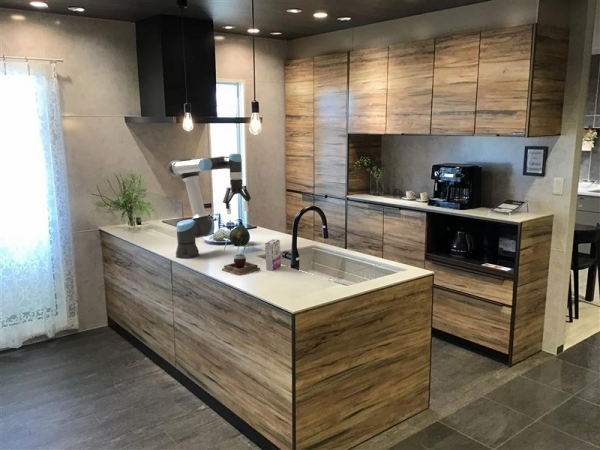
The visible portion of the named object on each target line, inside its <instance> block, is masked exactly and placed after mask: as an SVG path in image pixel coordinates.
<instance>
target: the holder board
mask: <svg viewBox="0 0 600 450" xmlns="http://www.w3.org/2000/svg"><path fill="white" fill-rule="evenodd" d="M260 270H261V268H260V267H258V264H255V263H252V262H248V261H246V263H245V265H244V268H240V269H238V268H236V265H235V263H234V262H232V263H230V264H229V263H228V264H224V265H223V268H221V271H223V272H226V273H230V274H233V275H236V276H242V275H246V274H249V273H253V272H257V271H260Z"/></svg>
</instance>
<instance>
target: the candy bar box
mask: <svg viewBox="0 0 600 450" xmlns="http://www.w3.org/2000/svg"><path fill="white" fill-rule="evenodd" d="M280 241H281V240H280V239H277V238H276V239H275V238H273V239H270V240H269V241H267V242H265V243H264V246H265V247H264V248H265V268H266V269H265V270H266V271H275V270H276V269H278V268H279V267H281V266H282V264H281V263H282V261H281V244H280V243H281V242H280Z"/></svg>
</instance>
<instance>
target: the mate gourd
mask: <svg viewBox="0 0 600 450" xmlns="http://www.w3.org/2000/svg"><path fill="white" fill-rule="evenodd" d="M247 246H249V243H246V245H245V246H244V247H243V250H242V253H239V254H235V256H234V257H233V263H235V265H236V268H238V269H240V268H244V265H245V263H246V262H247V257H246V256H245V255H244V254H245V253H244V252H245V249H246V247H247Z"/></svg>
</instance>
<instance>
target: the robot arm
mask: <svg viewBox="0 0 600 450" xmlns="http://www.w3.org/2000/svg"><path fill="white" fill-rule="evenodd" d="M242 163H243V160H242V154H240V153H230V154H228V156H216V157H215V156H214V157H203V158H198V159H197V158H190V157H189V158H188V157H187V158H181V159H173V160H171V161H170V162H169V163H168V165H167V171H168V173H169V175H171V176H172V177H174V178H175V177H176V178H180V177H181V180H182V181H183V182H184V183H185V187H186V192H187V195H188V200H189V204H190V208H191V213H192V218H191V219H184V220H180V221H179V222H177V224H176V236H177V238H176V239H177V247H176V251H175V257H176V258H179V259H190V258H191V259H192V258H196V257H198V256H199V255H200V251H199V249H198V246H197V244H196V239H199V238H203V237H208V236H211V235H212V234H213V233H214V231H215V221H214V220H213V219H212V218H210V216H209V215H208V214H207V213H206V210H205V205H204V201H203V196H202V193H201V192H202V191H201V188H200V184H199V177H200V174H201V172H207V171H214V170H222V169H223V170H225V169H227V170H228V169H229V179H230V180H229V181H230V187H228V186H227V187H226V191H225V194H224V197H223V200H222V203H224V204H225V209H226V214H227V215H231V214H232V211H231V203H230V202H231V201H232V200H233V197H234V196H235V195H237V194H239V195H240V196H241V197H242V198H243V199H244V201H243V206H244V207H243V209H244V212H249V205H250V203H249V202H250V200H251V199H252V197H251V195H250V193H249V191H248V189H247V185H243V179H242V178H243V164H242Z"/></svg>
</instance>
